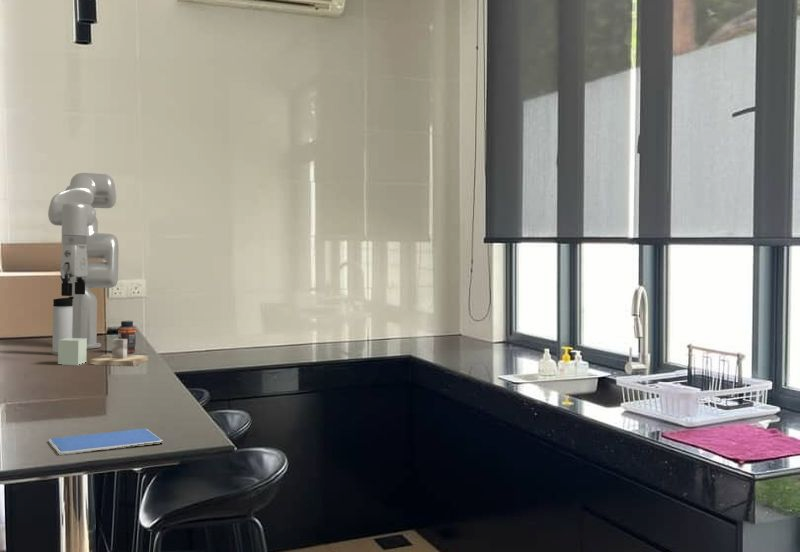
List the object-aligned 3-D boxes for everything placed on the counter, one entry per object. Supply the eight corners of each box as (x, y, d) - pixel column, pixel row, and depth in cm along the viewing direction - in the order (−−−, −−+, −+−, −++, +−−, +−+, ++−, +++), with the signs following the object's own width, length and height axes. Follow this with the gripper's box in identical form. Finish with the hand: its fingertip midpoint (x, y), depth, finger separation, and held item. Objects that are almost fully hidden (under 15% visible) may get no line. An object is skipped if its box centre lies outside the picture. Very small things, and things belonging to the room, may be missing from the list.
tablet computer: (58, 458, 146) (58, 451, 146) (46, 443, 157) (47, 437, 157) (164, 447, 157) (164, 440, 157) (146, 433, 167) (146, 427, 167)
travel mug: (68, 355, 273) (69, 297, 272) (49, 355, 273) (49, 296, 272) (76, 353, 279) (76, 296, 278) (57, 352, 279) (58, 295, 278)
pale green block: (57, 364, 252) (58, 340, 252) (66, 361, 259) (67, 337, 259) (78, 365, 252) (78, 340, 252) (86, 362, 259) (86, 338, 258)
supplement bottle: (138, 351, 287) (138, 320, 287) (131, 354, 281) (131, 322, 281) (122, 351, 288) (122, 319, 287) (114, 353, 282) (115, 321, 281)
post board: (89, 364, 254) (90, 341, 254) (106, 358, 268) (106, 336, 268) (133, 366, 254) (133, 342, 254) (147, 359, 268) (148, 337, 268)
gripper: (74, 241, 246) (73, 296, 246) (96, 242, 263) (95, 294, 263) (50, 240, 246) (49, 296, 246) (74, 241, 263) (73, 293, 263)
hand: (73, 295), depth 255 cm, fingers open, 9 cm apart
